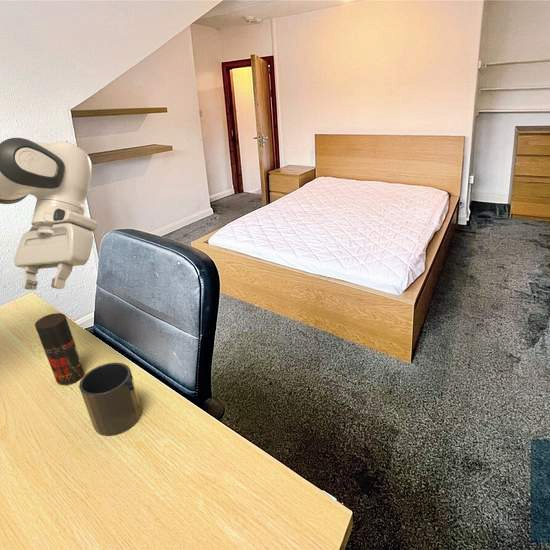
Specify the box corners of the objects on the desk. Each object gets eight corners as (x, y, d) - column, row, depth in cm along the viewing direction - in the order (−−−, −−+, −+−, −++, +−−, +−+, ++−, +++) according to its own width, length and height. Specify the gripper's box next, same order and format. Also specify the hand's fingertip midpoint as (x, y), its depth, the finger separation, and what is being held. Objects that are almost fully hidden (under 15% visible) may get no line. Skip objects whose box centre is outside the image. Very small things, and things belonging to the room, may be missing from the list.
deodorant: (53, 376, 93) (31, 321, 86) (79, 364, 97) (60, 310, 90) (61, 389, 89) (38, 332, 82) (88, 376, 92) (69, 320, 86)
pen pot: (83, 428, 78) (68, 388, 74) (117, 396, 86) (105, 358, 81) (118, 441, 75) (105, 400, 71) (151, 407, 82) (140, 368, 78)
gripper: (14, 222, 85) (-2, 286, 82) (73, 210, 75) (58, 283, 72) (43, 231, 90) (29, 293, 87) (103, 222, 80) (89, 291, 77)
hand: (43, 288), depth 79 cm, fingers open, 8 cm apart
